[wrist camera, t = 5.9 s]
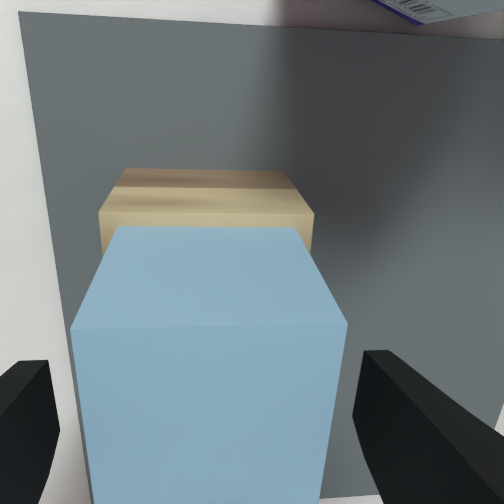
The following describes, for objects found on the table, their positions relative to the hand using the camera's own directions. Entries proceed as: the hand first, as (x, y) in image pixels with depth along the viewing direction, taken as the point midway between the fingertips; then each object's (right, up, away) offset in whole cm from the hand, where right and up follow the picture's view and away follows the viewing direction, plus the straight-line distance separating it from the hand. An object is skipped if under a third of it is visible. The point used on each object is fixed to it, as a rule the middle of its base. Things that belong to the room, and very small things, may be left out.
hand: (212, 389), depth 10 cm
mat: (+4, 0, +10) cm, 11 cm away
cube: (0, +2, +3) cm, 4 cm away
